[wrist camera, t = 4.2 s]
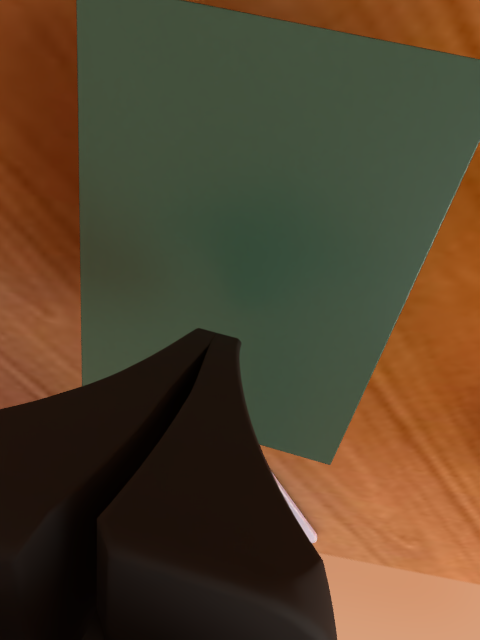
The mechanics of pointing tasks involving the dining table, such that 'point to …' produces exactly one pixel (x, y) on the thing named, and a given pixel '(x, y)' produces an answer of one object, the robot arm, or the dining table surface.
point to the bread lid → (260, 197)
